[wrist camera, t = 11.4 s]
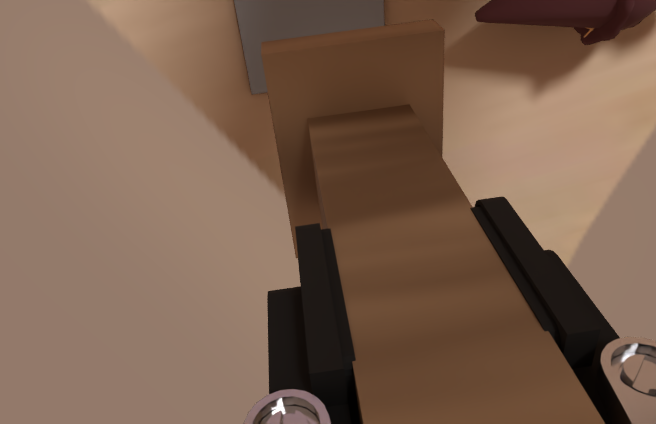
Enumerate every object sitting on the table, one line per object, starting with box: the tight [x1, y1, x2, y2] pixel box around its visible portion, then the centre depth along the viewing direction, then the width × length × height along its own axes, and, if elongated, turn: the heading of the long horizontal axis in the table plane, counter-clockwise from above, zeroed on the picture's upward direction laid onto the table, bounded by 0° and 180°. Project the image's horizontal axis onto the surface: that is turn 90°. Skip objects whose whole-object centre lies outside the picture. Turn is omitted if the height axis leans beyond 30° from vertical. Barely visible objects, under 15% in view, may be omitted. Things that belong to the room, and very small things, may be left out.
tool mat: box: [234, 0, 385, 94], centre depth 33 cm, size 10×9×1 cm
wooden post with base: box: [261, 19, 605, 424], centre depth 12 cm, size 7×5×12 cm
